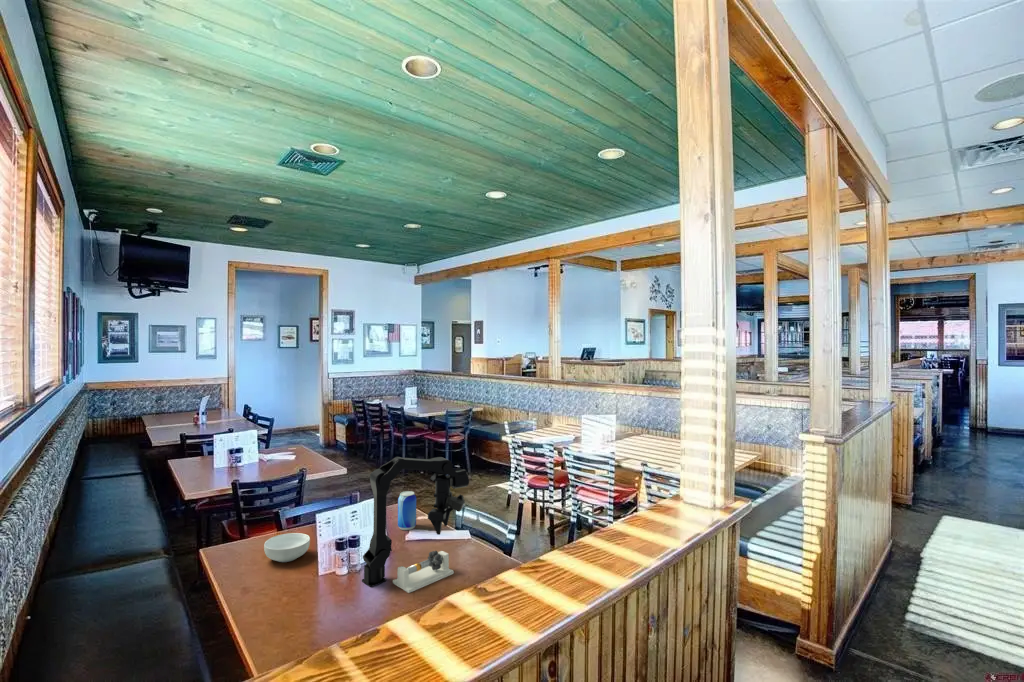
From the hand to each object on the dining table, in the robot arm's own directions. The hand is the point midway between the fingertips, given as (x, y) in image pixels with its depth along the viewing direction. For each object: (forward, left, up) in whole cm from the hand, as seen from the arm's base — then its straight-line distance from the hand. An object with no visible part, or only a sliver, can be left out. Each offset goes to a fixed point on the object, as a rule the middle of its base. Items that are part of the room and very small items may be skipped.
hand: (442, 530), depth 194 cm
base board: (-12, -5, -13) cm, 19 cm away
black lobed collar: (-7, -5, -11) cm, 15 cm away
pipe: (-12, -5, -9) cm, 16 cm away
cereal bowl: (-40, +48, -13) cm, 64 cm away
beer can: (+12, +41, -13) cm, 44 cm away
